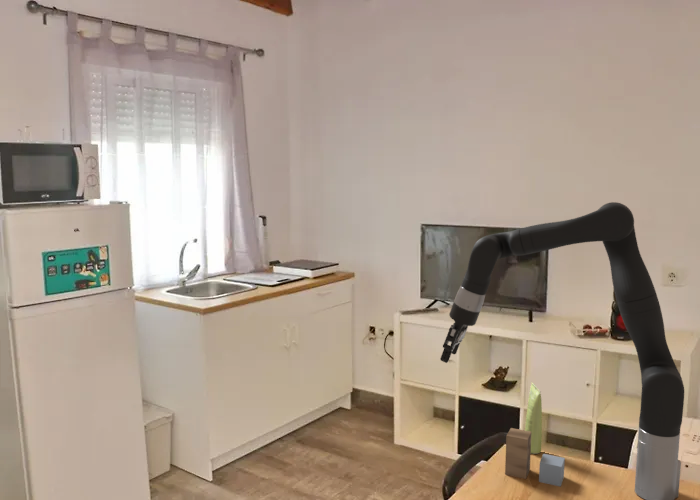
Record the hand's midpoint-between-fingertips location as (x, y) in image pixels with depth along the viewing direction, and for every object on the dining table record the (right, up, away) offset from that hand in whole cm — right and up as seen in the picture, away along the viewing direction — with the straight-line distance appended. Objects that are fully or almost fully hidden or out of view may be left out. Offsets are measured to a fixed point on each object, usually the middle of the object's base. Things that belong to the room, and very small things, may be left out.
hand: (448, 357), depth 176 cm
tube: (+26, -29, +7) cm, 39 cm away
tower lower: (+18, -30, -5) cm, 36 cm away
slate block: (+26, -31, -9) cm, 41 cm away
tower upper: (+18, -25, -6) cm, 31 cm away
